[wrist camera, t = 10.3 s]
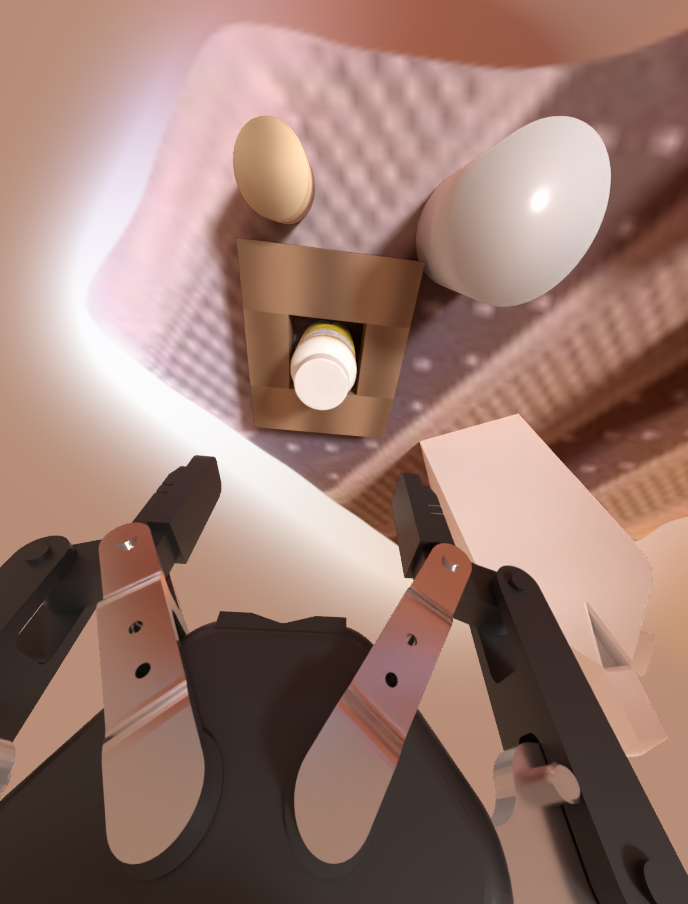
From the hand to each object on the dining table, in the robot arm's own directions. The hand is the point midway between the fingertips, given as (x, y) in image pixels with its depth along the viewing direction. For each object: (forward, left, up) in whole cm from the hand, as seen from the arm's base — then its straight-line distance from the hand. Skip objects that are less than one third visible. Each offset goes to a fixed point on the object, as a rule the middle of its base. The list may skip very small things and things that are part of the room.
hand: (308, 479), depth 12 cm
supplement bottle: (0, 0, -20) cm, 20 cm away
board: (0, 0, -19) cm, 19 cm away
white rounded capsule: (-10, -10, -19) cm, 24 cm away
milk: (-20, +13, -20) cm, 31 cm away
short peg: (+4, -12, -20) cm, 23 cm away
